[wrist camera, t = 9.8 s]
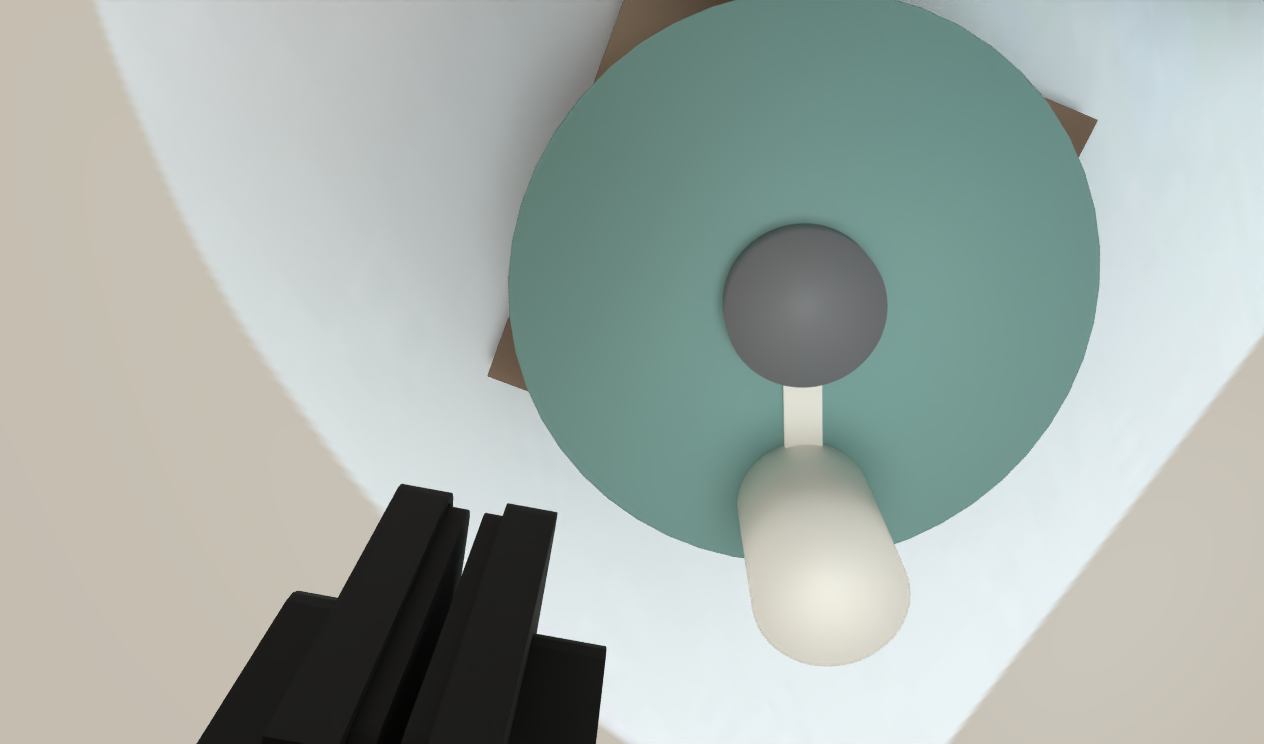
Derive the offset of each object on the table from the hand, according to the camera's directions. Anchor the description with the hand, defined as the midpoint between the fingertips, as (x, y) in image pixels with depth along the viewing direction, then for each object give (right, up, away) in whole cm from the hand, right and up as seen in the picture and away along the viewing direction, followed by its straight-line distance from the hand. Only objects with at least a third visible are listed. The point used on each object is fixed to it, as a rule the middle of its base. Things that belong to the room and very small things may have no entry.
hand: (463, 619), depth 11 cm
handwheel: (+6, +5, +18) cm, 19 cm away
